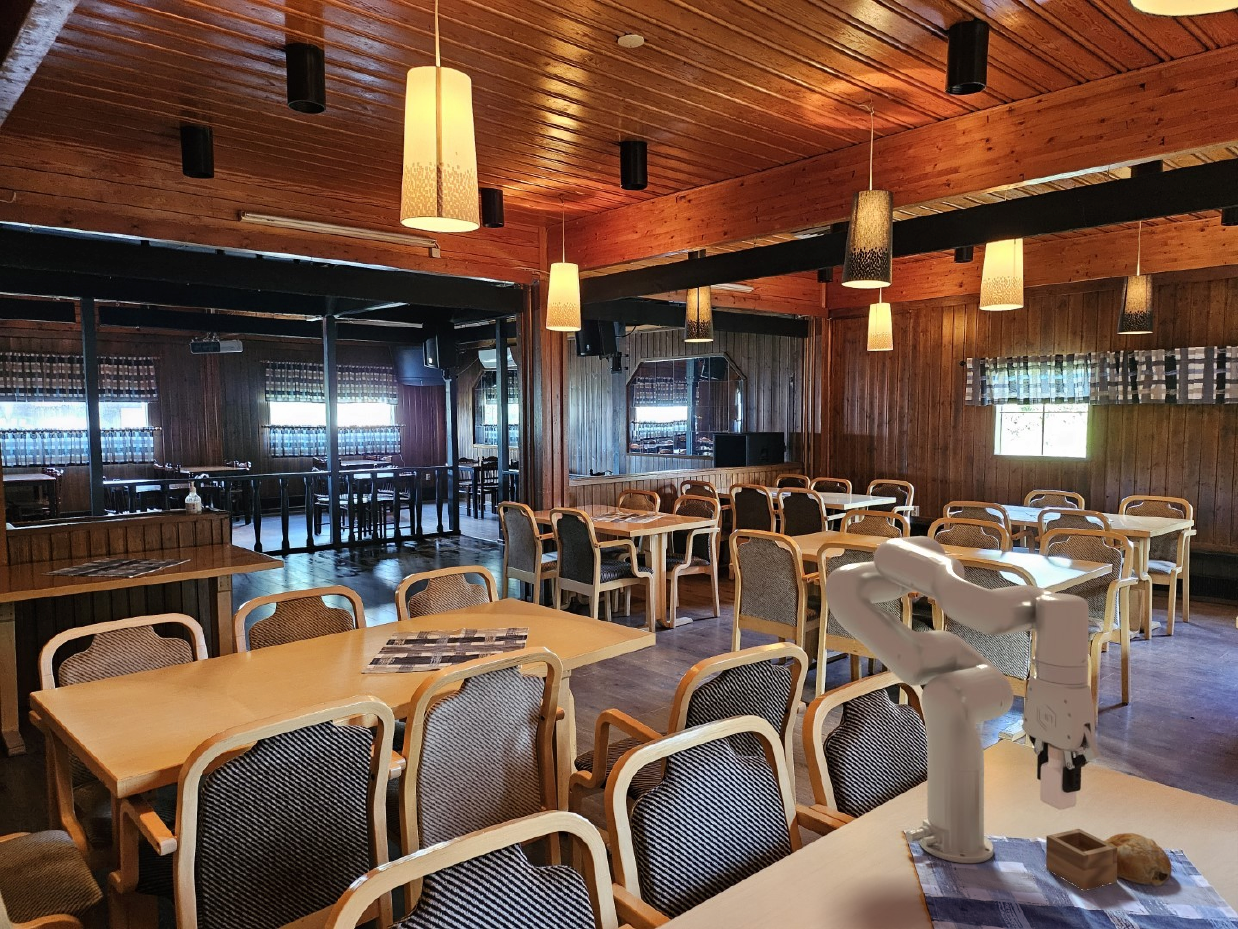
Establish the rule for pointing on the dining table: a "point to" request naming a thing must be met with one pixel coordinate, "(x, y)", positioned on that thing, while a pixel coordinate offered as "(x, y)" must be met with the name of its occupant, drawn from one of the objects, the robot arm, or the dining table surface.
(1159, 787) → the dining table surface
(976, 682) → the robot arm
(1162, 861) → the bread roll
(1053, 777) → the pepper shaker
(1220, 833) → the dining table surface
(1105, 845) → the wooden open box
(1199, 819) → the dining table surface
